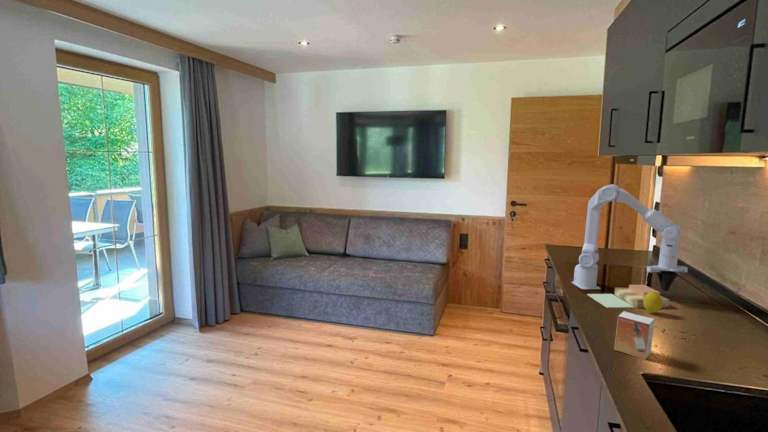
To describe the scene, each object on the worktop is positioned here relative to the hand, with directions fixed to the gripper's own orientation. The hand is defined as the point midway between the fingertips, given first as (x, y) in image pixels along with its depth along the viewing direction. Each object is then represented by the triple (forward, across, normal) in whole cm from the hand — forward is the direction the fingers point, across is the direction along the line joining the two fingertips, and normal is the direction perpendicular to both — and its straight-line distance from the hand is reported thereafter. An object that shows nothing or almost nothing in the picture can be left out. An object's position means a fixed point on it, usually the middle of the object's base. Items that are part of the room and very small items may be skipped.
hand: (664, 290), depth 156 cm
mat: (+4, -21, 0) cm, 21 cm away
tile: (+1, -8, 0) cm, 8 cm away
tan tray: (+4, -9, 0) cm, 10 cm away
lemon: (+5, -13, -12) cm, 18 cm away
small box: (+5, -38, -40) cm, 55 cm away
